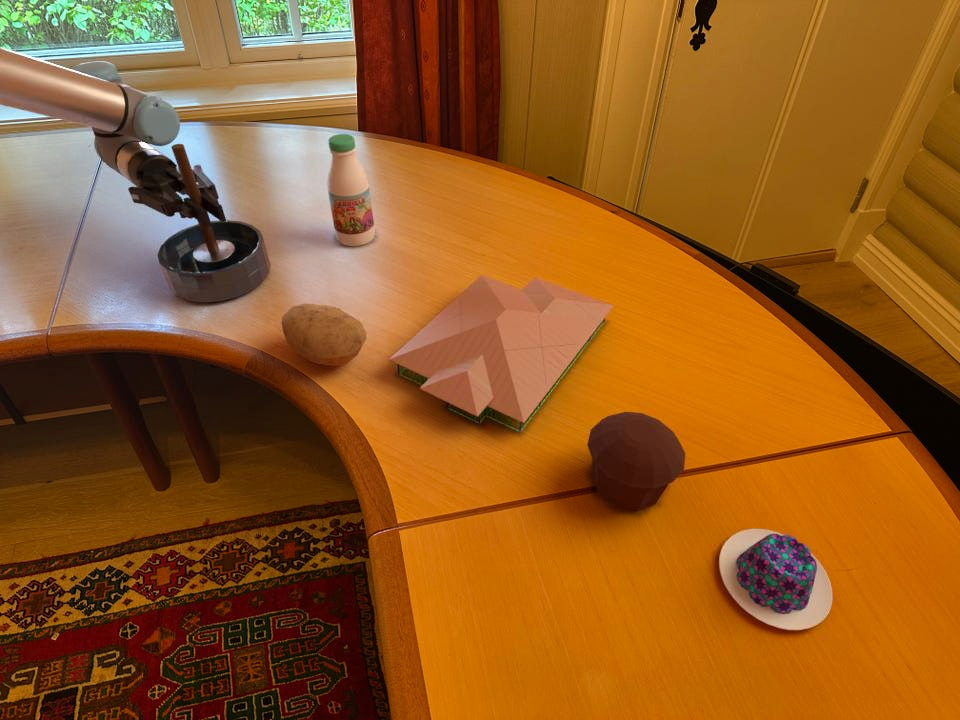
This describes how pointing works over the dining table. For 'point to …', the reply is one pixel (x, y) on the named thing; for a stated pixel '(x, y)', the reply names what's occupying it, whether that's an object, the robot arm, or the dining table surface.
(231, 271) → the bowl
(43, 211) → the dining table surface
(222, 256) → the brown rod with cylinder
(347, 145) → the milk bottle
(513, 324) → the house
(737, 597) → the pudding
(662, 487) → the muffin
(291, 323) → the potato
